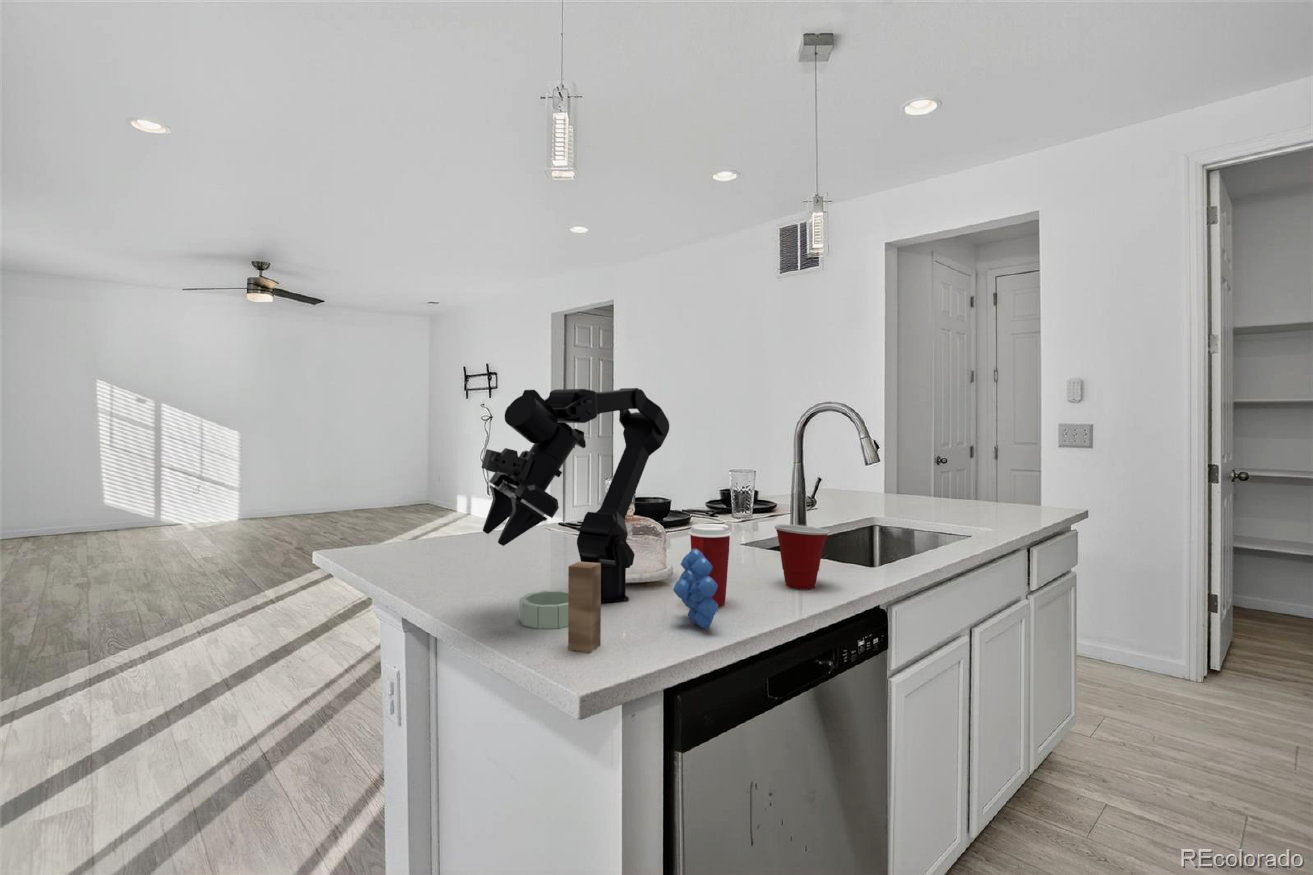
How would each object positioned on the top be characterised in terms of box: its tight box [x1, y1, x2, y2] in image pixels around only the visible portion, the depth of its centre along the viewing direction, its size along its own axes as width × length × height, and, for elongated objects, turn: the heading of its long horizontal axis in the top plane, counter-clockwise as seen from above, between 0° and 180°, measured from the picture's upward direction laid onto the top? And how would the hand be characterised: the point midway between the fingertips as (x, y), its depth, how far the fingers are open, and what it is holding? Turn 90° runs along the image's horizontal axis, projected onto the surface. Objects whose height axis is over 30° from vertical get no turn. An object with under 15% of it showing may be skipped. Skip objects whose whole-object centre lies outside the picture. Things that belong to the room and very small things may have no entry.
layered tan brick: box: [567, 561, 602, 654], centre depth 94 cm, size 4×4×12 cm
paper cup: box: [687, 523, 733, 609], centre depth 117 cm, size 8×8×14 cm
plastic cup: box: [774, 523, 830, 591], centre depth 130 cm, size 11×11×12 cm
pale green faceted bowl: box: [518, 589, 568, 630], centre depth 108 cm, size 10×10×4 cm
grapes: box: [672, 549, 719, 629], centre depth 105 cm, size 12×7×12 cm, turn 19°
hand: (492, 538), depth 103 cm, fingers open, 9 cm apart
